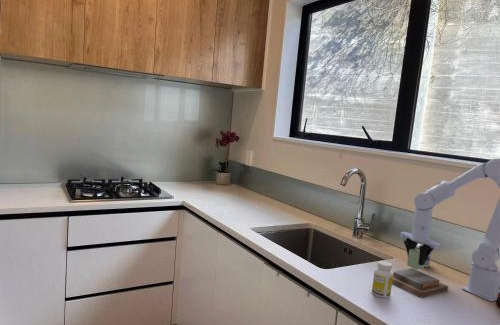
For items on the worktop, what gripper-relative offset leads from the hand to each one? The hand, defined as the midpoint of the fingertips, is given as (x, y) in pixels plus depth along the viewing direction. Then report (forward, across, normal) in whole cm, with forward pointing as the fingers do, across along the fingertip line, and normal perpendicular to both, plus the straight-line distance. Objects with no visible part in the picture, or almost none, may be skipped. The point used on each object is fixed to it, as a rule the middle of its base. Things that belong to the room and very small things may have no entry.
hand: (415, 262), depth 138 cm
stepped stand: (+3, +8, -11) cm, 14 cm away
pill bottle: (+4, -4, +10) cm, 11 cm away
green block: (+2, 0, 0) cm, 2 cm away
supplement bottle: (+4, +9, -29) cm, 31 cm away
